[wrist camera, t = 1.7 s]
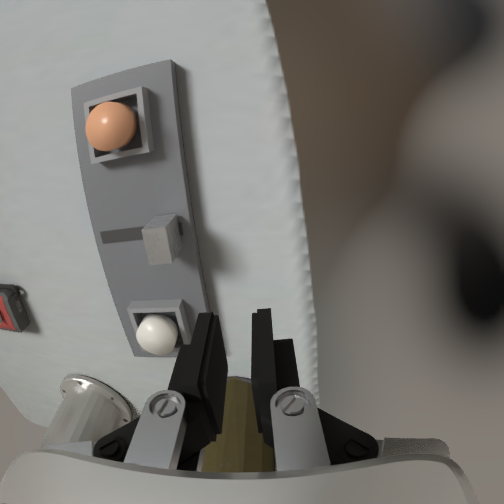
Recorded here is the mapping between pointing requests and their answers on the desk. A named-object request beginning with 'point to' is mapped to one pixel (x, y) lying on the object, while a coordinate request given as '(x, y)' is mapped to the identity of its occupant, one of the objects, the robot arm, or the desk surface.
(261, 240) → the desk surface
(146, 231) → the lever
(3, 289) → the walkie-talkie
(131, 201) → the panel
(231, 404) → the canister
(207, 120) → the desk surface
